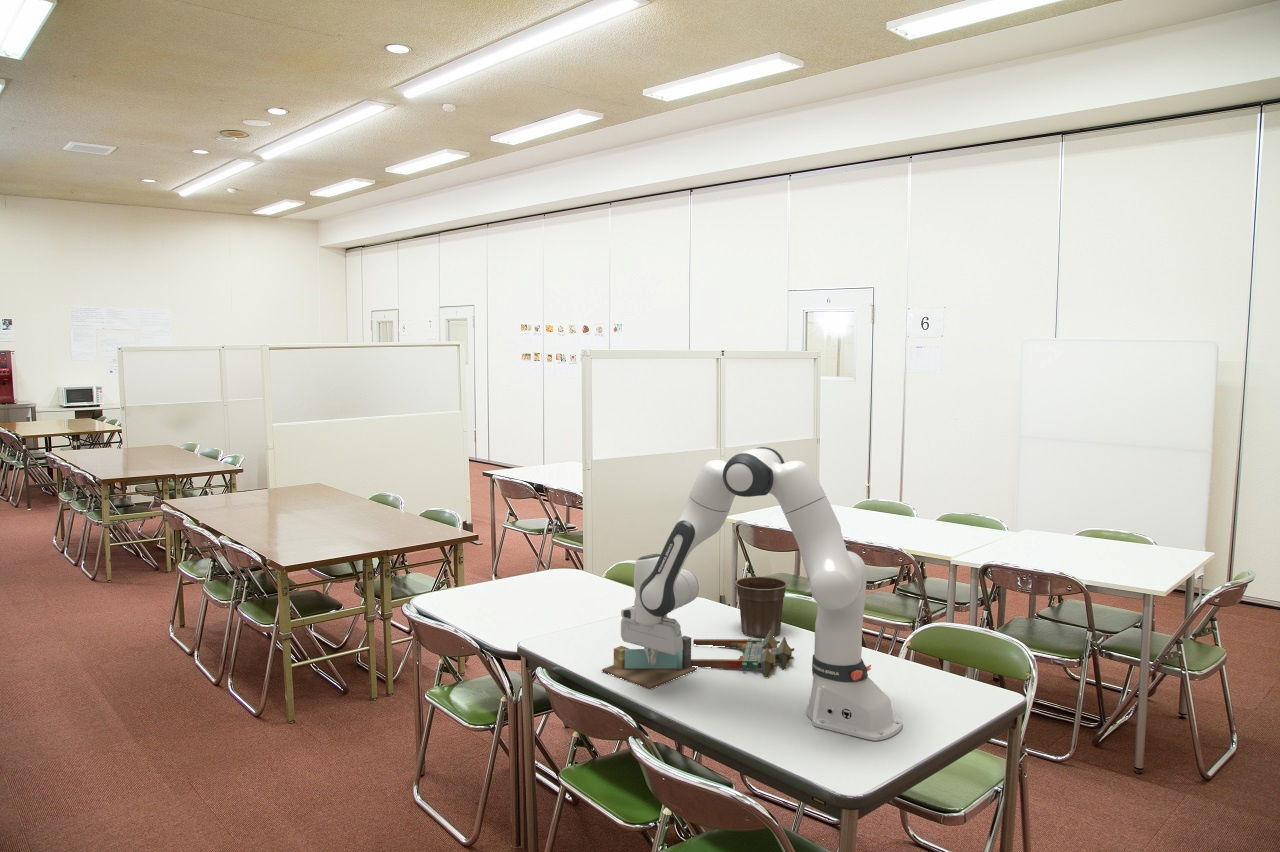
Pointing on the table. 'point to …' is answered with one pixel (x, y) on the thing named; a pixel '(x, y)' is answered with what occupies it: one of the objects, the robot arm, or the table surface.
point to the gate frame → (650, 675)
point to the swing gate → (640, 660)
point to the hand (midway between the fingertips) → (652, 663)
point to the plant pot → (761, 605)
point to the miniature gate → (749, 654)
